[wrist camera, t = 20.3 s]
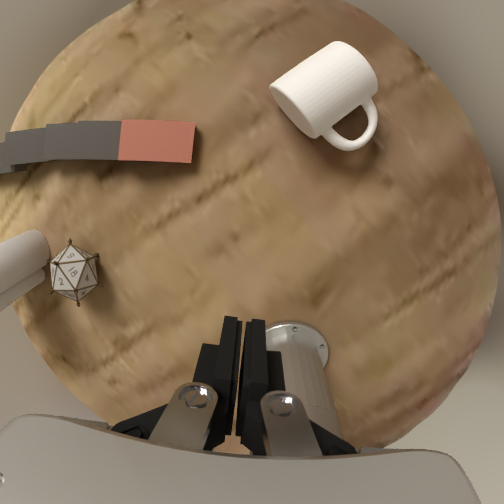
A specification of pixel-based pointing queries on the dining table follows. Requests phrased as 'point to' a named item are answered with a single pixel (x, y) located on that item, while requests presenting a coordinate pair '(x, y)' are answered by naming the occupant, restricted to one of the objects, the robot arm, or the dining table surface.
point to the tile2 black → (98, 140)
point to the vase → (21, 265)
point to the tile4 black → (24, 146)
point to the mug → (328, 93)
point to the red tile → (156, 140)
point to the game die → (73, 273)
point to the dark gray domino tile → (60, 141)
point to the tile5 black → (10, 168)
